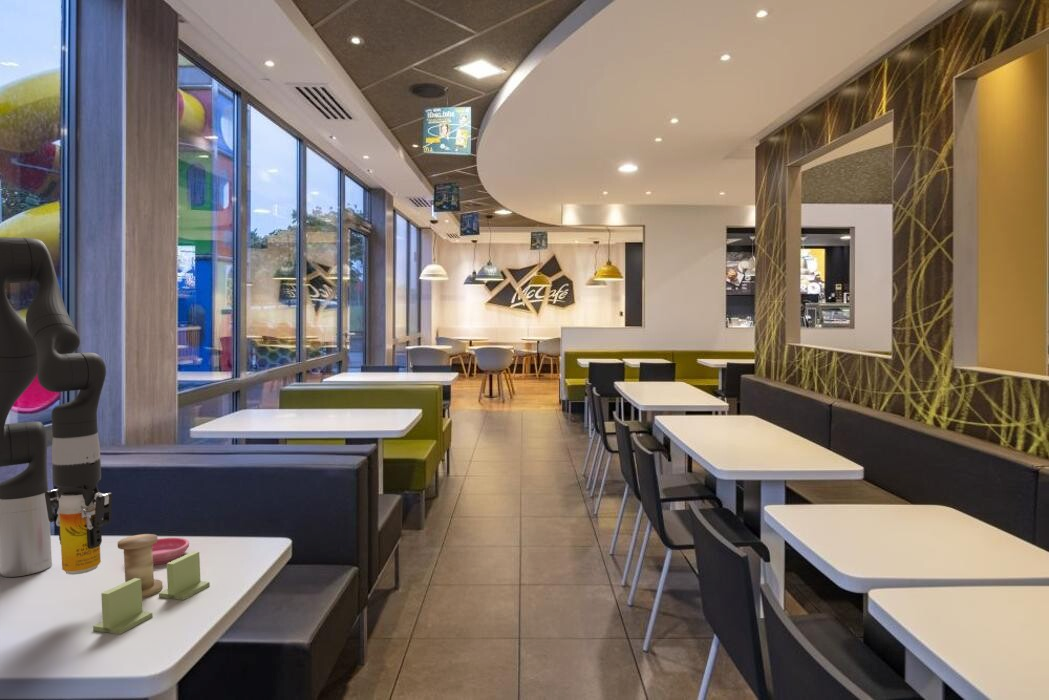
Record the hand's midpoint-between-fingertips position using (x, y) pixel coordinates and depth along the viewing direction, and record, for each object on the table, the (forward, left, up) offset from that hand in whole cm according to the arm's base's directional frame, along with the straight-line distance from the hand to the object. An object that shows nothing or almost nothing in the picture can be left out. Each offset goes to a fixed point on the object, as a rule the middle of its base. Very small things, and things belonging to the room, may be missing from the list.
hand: (80, 545), depth 124 cm
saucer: (-9, +27, -13) cm, 31 cm away
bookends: (+12, +5, -13) cm, 18 cm away
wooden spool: (+3, +10, -13) cm, 16 cm away
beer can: (0, 0, -5) cm, 5 cm away
